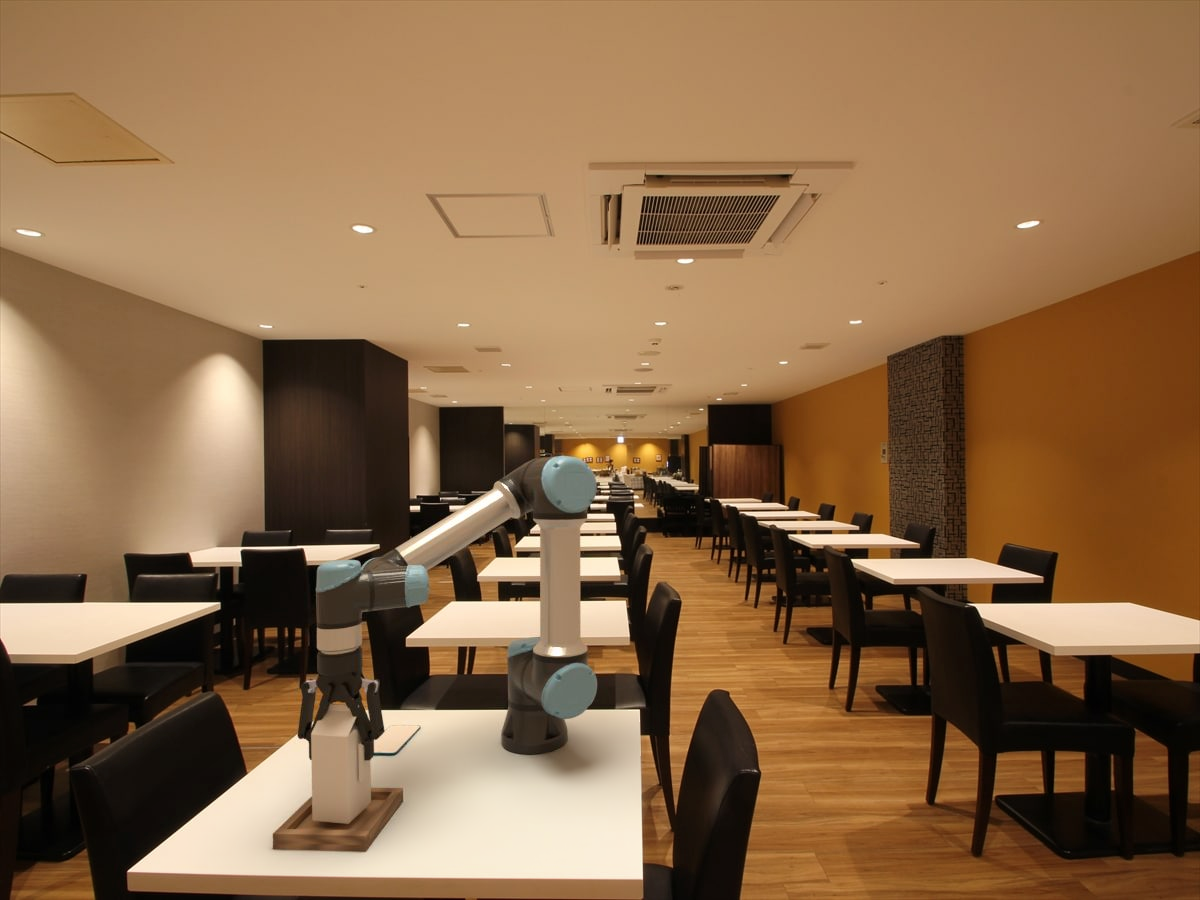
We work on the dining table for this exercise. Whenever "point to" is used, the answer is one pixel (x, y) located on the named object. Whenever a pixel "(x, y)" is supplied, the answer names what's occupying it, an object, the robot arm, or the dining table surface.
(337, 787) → the milk carton
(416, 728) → the smartphone
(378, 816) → the holder
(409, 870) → the dining table surface
